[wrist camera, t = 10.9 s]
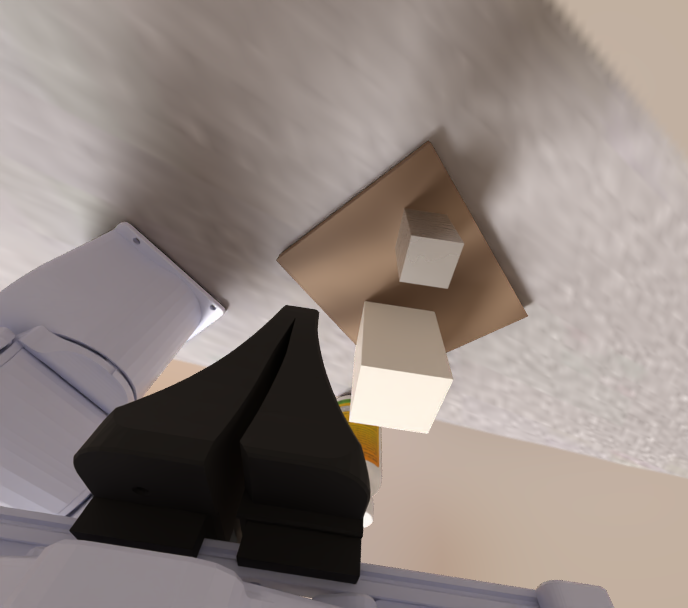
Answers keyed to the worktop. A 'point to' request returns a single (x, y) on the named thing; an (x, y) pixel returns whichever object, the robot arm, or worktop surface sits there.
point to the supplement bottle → (367, 453)
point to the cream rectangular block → (398, 368)
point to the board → (381, 264)
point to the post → (427, 248)
